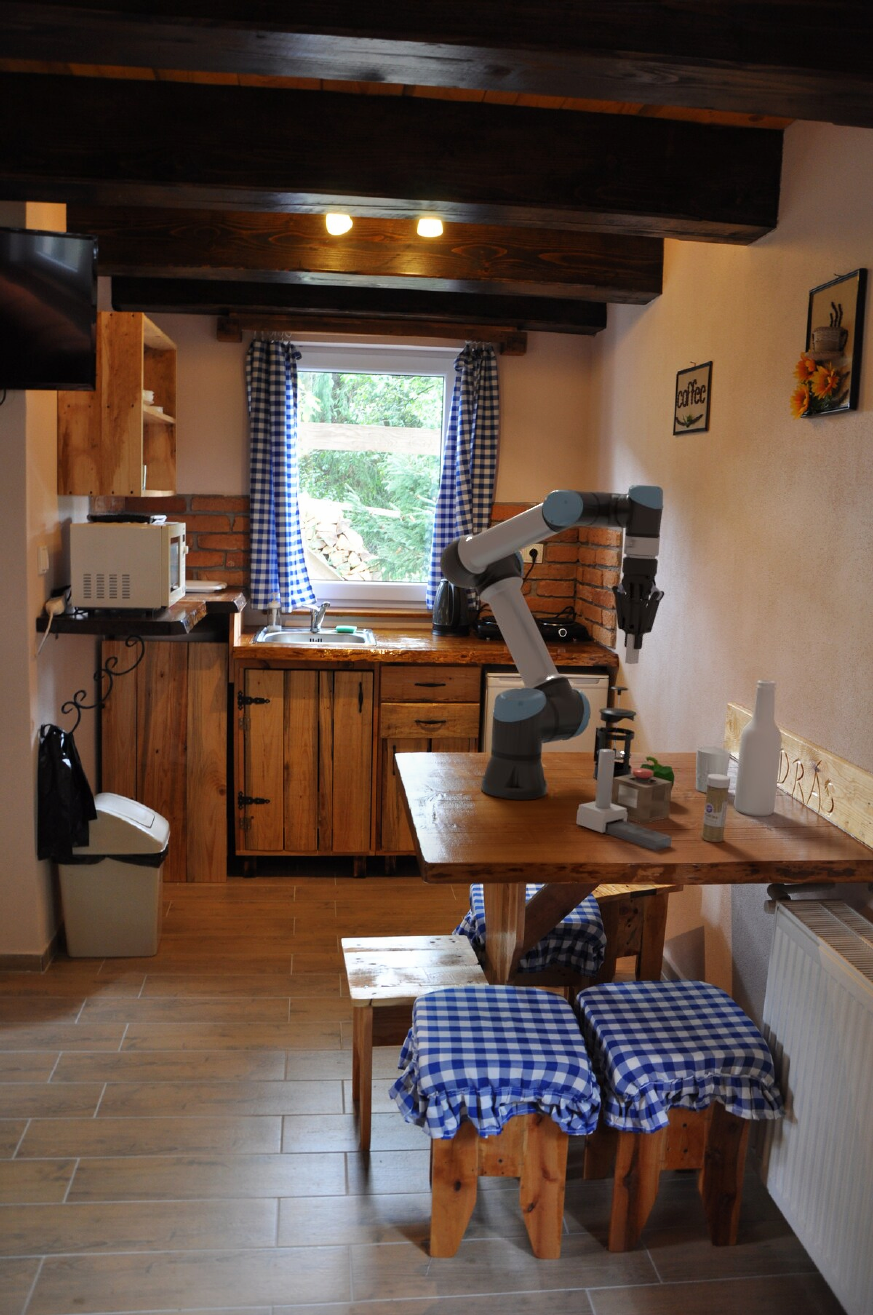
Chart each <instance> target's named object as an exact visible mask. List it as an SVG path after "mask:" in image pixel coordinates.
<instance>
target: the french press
mask: <svg viewBox="0 0 873 1315" xmlns="http://www.w3.org/2000/svg"><path fill="white" fill-rule="evenodd" d="M610 689H611V690H613V691H614V690H615V691H616V692H617V693H616V694H617V706H616V707H604V708H600V709H599V710H598V712H599V713H600V718H599V719H600V720H601V721H602V722H606V723H611V724H615V727H613V726H596V727H595V738H594V749H593V761H594V762H595V763H594V770H593V771H594V772H593V775H592V778H594V780H596V781H597V777H598V764H599V752H600V750H601V749H606V746H607V744H606V743H607V740H610V741H614V743H613V744H614V745H613V748H612V749H611V748H609V749H610V750H614V751H615V760H614V772H613V778H615V777H620V776H624V775H629V774H632V770H633V769H632V768H633V767H632V766H631V765H630V758H631V757H632V753H631V744H632V742H631V741H632V740H634V739H635V731H633V730H631V729H628V728H624V727H623V728H622V727H618V723H619V722H620V721H622V720H624V719H628V720H630V721H632V722H634V721H635V716H637V712H635V711H633V710H631V709H626V708H620V699H621V698H620V697H621V696H622V691H629V688H627V687H624V686H612V687H610ZM611 733H614V734H611ZM618 741H621V742H622V741H623V742H624V748H623V750H621V749H617V748H616V747H617V746H616V744H617V742H618ZM616 760H618V761H616ZM619 760H621V761H622V760H623V761H622V762H621V761H619Z"/></svg>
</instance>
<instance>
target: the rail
mask: <svg viewBox="0 0 873 1315" xmlns="http://www.w3.org/2000/svg"><path fill="white" fill-rule="evenodd" d="M603 833H604V834H607V835H609V834H610V836H612V837H615V838H618V839H621V840H624V841H626V842H629V843H632V844H635V845H639V846H641V847H643V848H646V849H649V850H652V851H655V852H656V851H659V850H663V849H667V848H670V847H671V846H672V838H673V837H672V836H671V835H667V834H665V833H661V832H660V831H659V832H658V831H655V830H653V829H649V828H647V827H644V826H641V825H638V824H635V823H633V822H629V821H627V822H626V821H623V820H620V819H618V820H614V821H610V822H606V828H605V832H603Z"/></svg>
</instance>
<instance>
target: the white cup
mask: <svg viewBox="0 0 873 1315" xmlns="http://www.w3.org/2000/svg"><path fill="white" fill-rule="evenodd" d="M731 753H732V752H731V751H730V750H729V749H726V748H724V747H718V746H710V745H709V746H708V745H707V746H706V745H703V746H698V747H697V748H696V760H695V778H696V779H695V790H696V791H698V792H701V793H705V794H706V793H707V777H708V775H710V774H721V775H725V776H728V770H729V766H730V765H729V764H730V759H731Z"/></svg>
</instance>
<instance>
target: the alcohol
mask: <svg viewBox="0 0 873 1315" xmlns="http://www.w3.org/2000/svg"><path fill="white" fill-rule="evenodd" d="M756 683H757V685H756V689H757V690H756V696H755V701H754V706H753V711H752V716H751V719H750V720H749V721H748V722H747V724H745V725H744V726H743V728H742V731H741V733H740V741H739V751H738V762H737V772H736V782H735V792H734V793H735V794H734V802H733V806H734V808H735V811H737V812H739V813H740V814H743V815H747V816H753V817H769V816H771V815H772V814H773V813H774V811H775V808H776V807H775V806H776V797H777V796H776V795H777V788H778V779H779V778H778V777H779V770H780V769H779V767H780V759H781V752H782V751H781V749H782V739H783V738H782V732H781V730H780V728H779V727H778V725H777V724H776V721H775V697H776V696H775V694H776V689H777V687H776V685H777V682H776V681H774V680H768V679H759V680H757V682H756Z"/></svg>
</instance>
